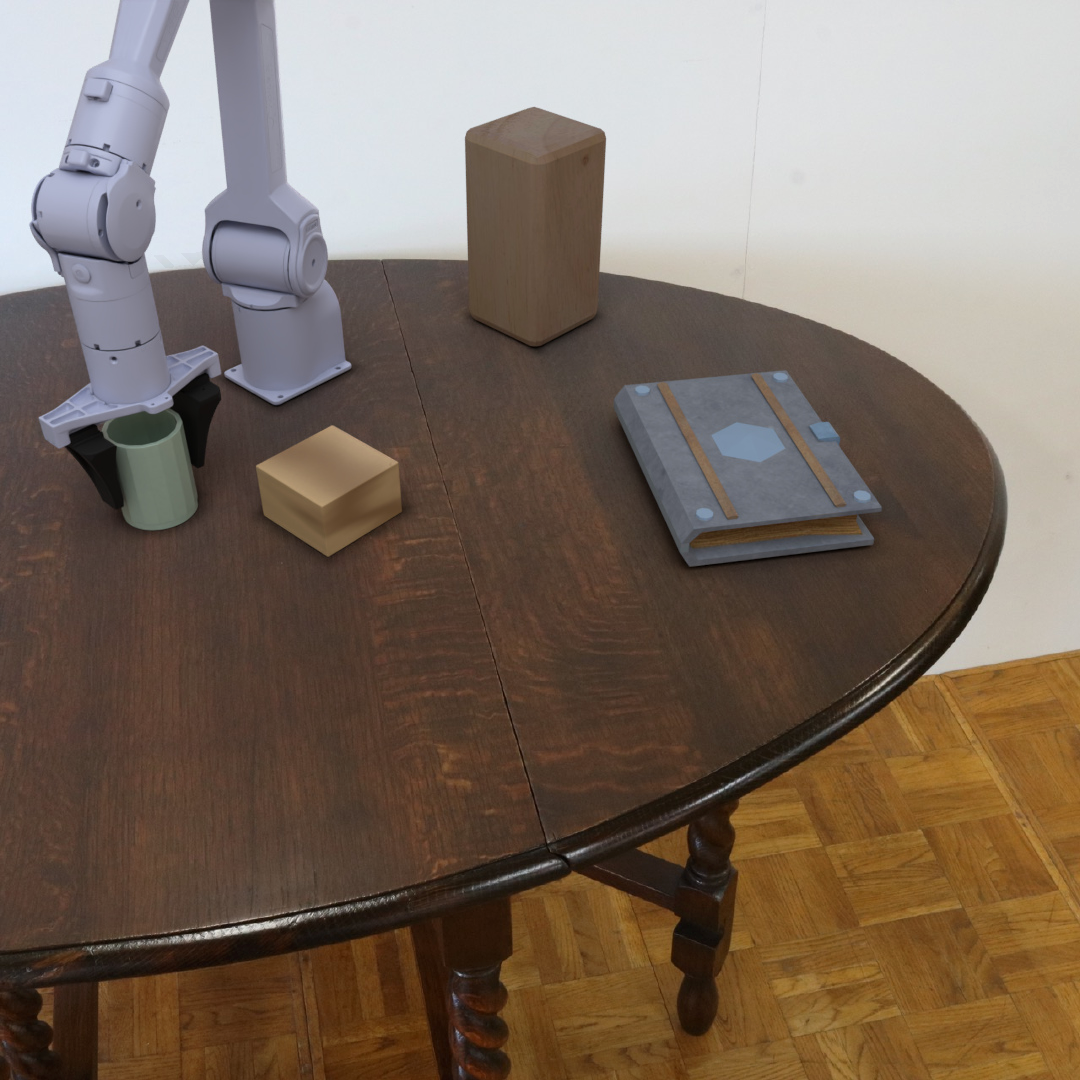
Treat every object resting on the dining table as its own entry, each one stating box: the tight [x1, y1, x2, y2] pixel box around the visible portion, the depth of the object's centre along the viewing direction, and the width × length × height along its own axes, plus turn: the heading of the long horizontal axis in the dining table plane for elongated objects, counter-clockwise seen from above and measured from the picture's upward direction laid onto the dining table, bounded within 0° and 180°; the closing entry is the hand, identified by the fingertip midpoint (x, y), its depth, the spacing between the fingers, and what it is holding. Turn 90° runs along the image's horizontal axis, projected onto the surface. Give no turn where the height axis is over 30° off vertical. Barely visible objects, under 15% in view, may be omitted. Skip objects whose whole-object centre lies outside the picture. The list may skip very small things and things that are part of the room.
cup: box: [101, 408, 199, 531], centre depth 95 cm, size 6×6×8 cm
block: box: [255, 424, 403, 558], centre depth 96 cm, size 8×8×5 cm
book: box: [613, 369, 883, 567], centre depth 100 cm, size 21×16×5 cm
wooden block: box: [464, 106, 607, 347], centre depth 117 cm, size 10×10×20 cm
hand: (154, 482), depth 96 cm, fingers open, 7 cm apart
